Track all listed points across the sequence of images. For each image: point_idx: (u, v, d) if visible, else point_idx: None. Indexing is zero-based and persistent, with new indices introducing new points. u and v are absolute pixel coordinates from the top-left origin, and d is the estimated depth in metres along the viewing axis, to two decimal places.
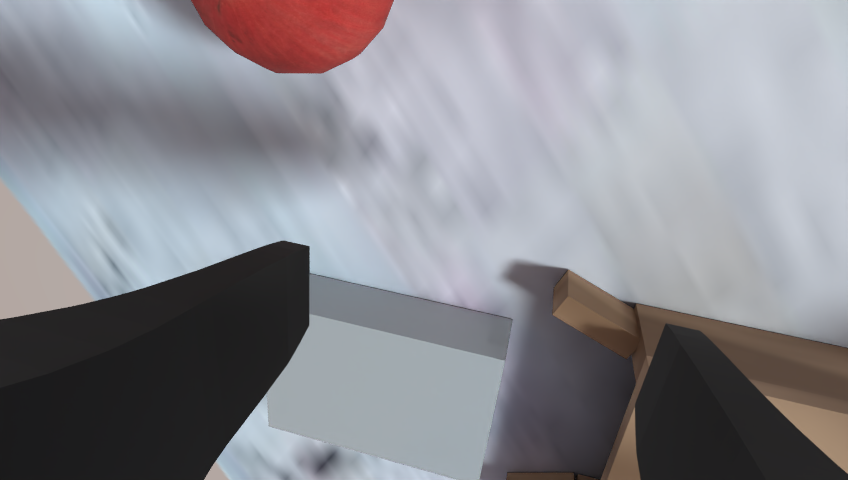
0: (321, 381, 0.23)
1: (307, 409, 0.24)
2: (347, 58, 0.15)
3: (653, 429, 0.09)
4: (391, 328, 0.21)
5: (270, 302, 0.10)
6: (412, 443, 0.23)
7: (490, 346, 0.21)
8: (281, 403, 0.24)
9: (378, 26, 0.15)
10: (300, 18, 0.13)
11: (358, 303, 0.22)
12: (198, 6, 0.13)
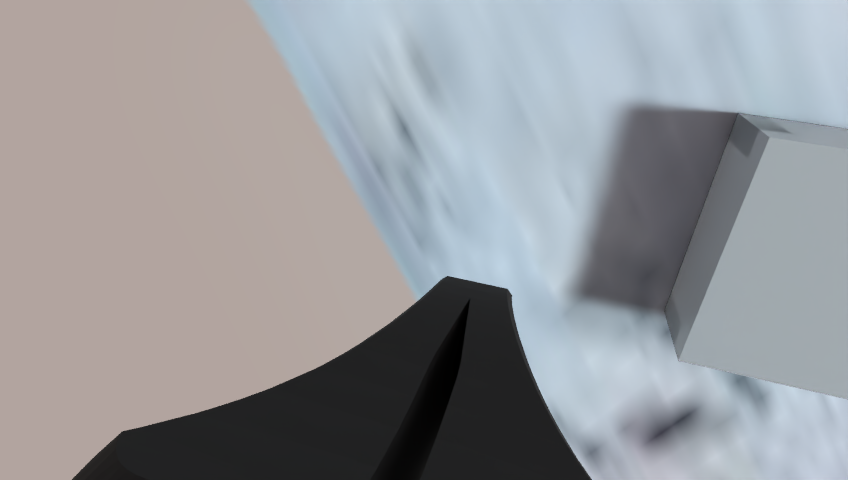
0: (825, 278, 0.14)
1: (770, 328, 0.15)
2: None
3: None
4: None
5: (456, 347, 0.09)
6: None
7: None
8: (722, 320, 0.15)
9: None
10: None
11: None
12: None
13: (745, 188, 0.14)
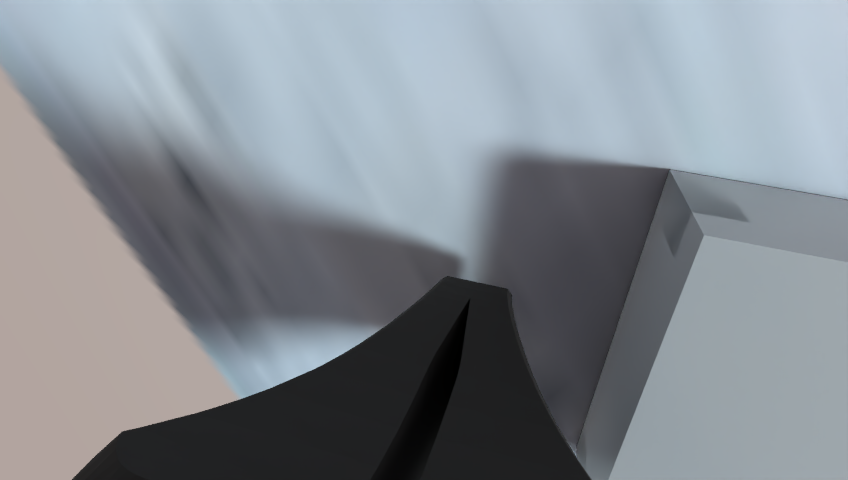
0: (807, 465, 0.08)
1: None
2: None
3: None
4: None
5: (456, 347, 0.09)
6: None
7: None
8: None
9: None
10: None
11: None
12: None
13: (668, 315, 0.08)
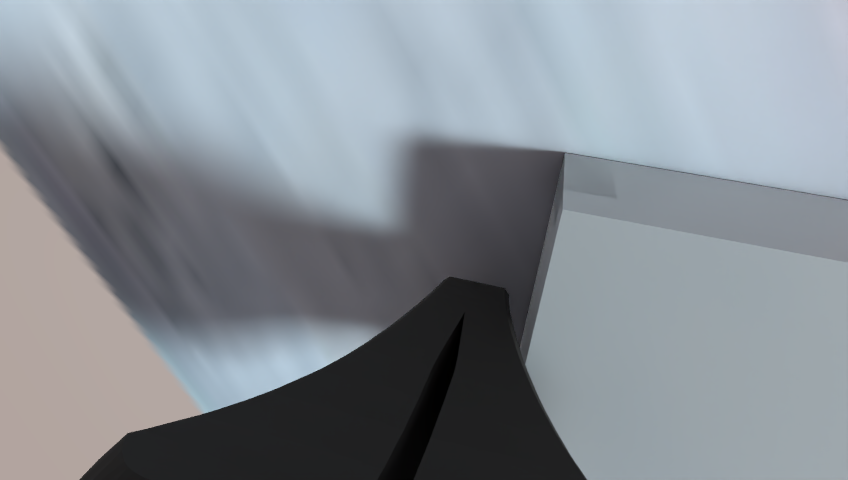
0: (681, 433, 0.08)
1: None
2: None
3: None
4: None
5: None
6: None
7: None
8: None
9: None
10: None
11: (806, 219, 0.08)
12: None
13: (542, 288, 0.08)
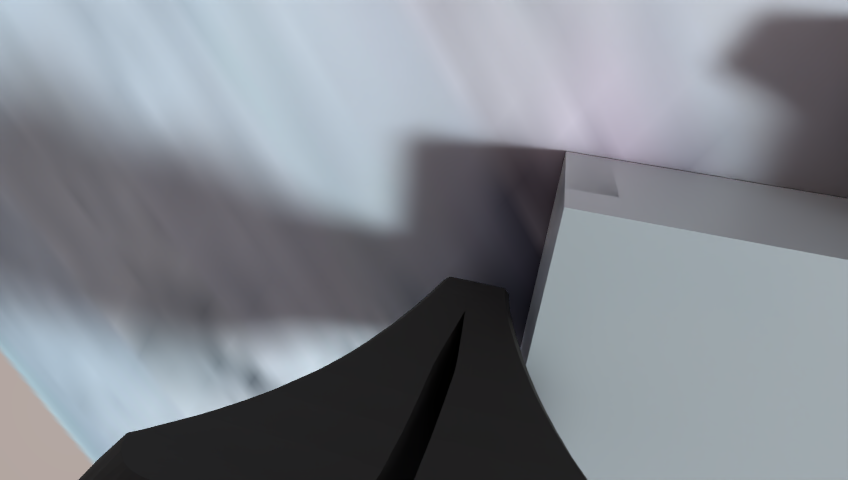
0: (683, 432, 0.08)
1: None
2: None
3: None
4: None
5: (459, 347, 0.09)
6: None
7: None
8: None
9: None
10: None
11: (808, 217, 0.08)
12: None
13: (543, 286, 0.08)
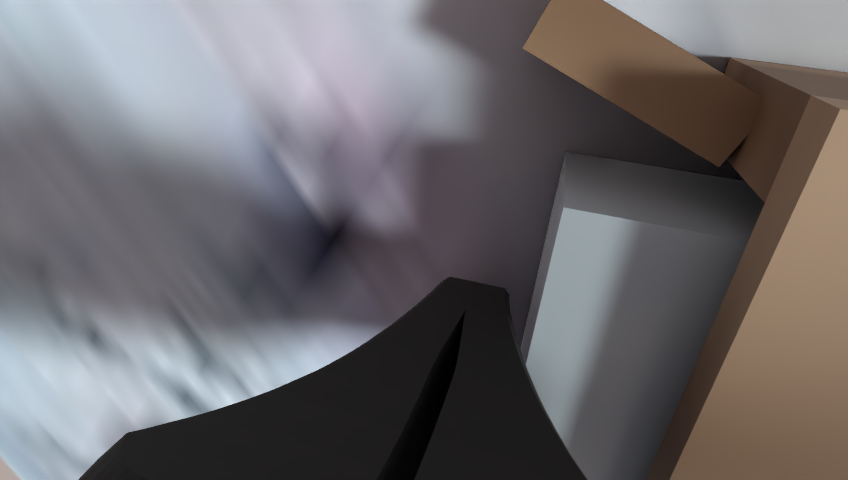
0: None
1: None
2: None
3: None
4: None
5: (459, 347, 0.09)
6: None
7: None
8: None
9: None
10: None
11: None
12: None
13: (543, 286, 0.08)
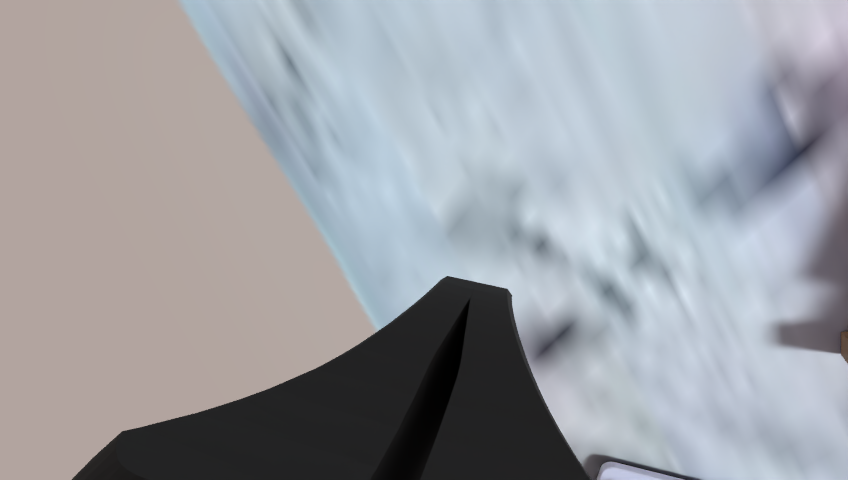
0: None
1: None
2: None
3: None
4: None
5: (456, 346, 0.09)
6: None
7: None
8: None
9: None
10: None
11: None
12: None
13: None
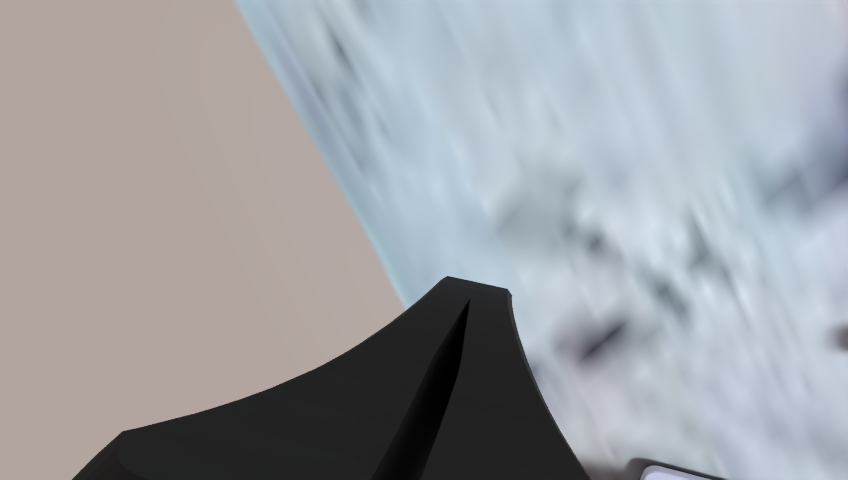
0: None
1: None
2: None
3: None
4: None
5: (456, 347, 0.09)
6: None
7: None
8: None
9: None
10: None
11: None
12: None
13: None
